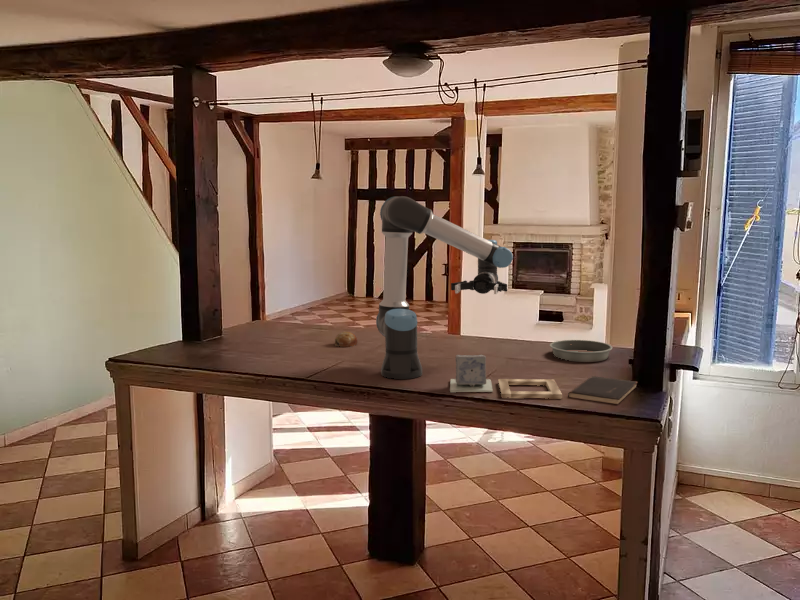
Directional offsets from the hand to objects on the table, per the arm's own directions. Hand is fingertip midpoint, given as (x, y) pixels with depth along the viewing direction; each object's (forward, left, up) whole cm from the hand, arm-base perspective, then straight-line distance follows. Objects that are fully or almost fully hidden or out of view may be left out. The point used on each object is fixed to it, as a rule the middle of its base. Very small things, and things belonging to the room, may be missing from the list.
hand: (475, 289), depth 229 cm
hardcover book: (+41, -14, -33) cm, 55 cm away
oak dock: (+17, -14, -32) cm, 39 cm away
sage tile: (-2, -10, -32) cm, 33 cm away
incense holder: (-2, -10, -31) cm, 33 cm away
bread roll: (-56, +58, -32) cm, 87 cm away
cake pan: (+43, +38, -32) cm, 66 cm away
